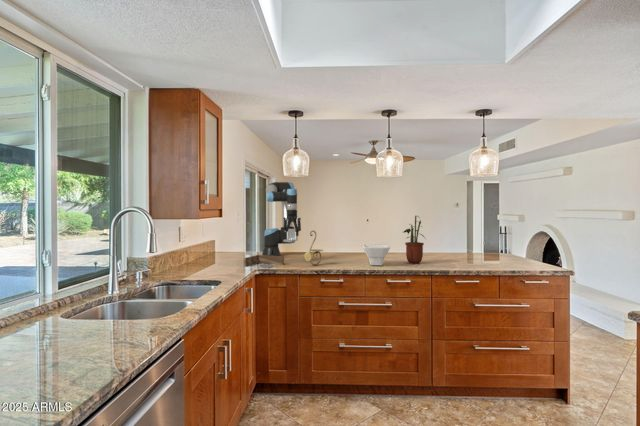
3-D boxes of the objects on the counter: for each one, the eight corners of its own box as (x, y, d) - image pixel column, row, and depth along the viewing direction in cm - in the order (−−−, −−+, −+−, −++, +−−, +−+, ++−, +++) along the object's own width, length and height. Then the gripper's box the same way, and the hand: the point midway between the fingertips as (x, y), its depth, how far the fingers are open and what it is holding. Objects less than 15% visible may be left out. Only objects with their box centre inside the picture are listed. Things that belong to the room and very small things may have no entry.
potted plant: (409, 261, 290) (409, 215, 290) (429, 263, 282) (429, 215, 281) (400, 264, 276) (400, 215, 275) (421, 266, 267) (421, 216, 266)
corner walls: (257, 262, 286) (257, 254, 286) (283, 264, 277) (283, 256, 277) (243, 266, 269) (243, 258, 269) (271, 268, 261) (270, 259, 260)
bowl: (362, 263, 282) (362, 244, 282) (389, 263, 280) (389, 244, 280) (362, 267, 264) (362, 247, 263) (391, 267, 261) (391, 247, 261)
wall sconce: (312, 267, 266) (312, 231, 265) (303, 265, 272) (303, 230, 272) (326, 264, 276) (326, 230, 275) (317, 263, 282) (316, 229, 282)
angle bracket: (289, 240, 289) (289, 228, 289) (296, 240, 287) (296, 228, 286) (283, 241, 281) (283, 229, 281) (290, 242, 278) (290, 229, 278)
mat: (260, 264, 277) (260, 264, 277) (276, 265, 271) (276, 265, 271) (253, 266, 267) (253, 266, 267) (269, 268, 262) (269, 267, 262)
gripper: (278, 209, 287) (278, 240, 287) (301, 209, 279) (301, 241, 280) (283, 209, 294) (283, 239, 294) (305, 209, 286) (305, 240, 287)
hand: (292, 240), depth 287 cm, fingers closed on angle bracket, 6 cm apart
